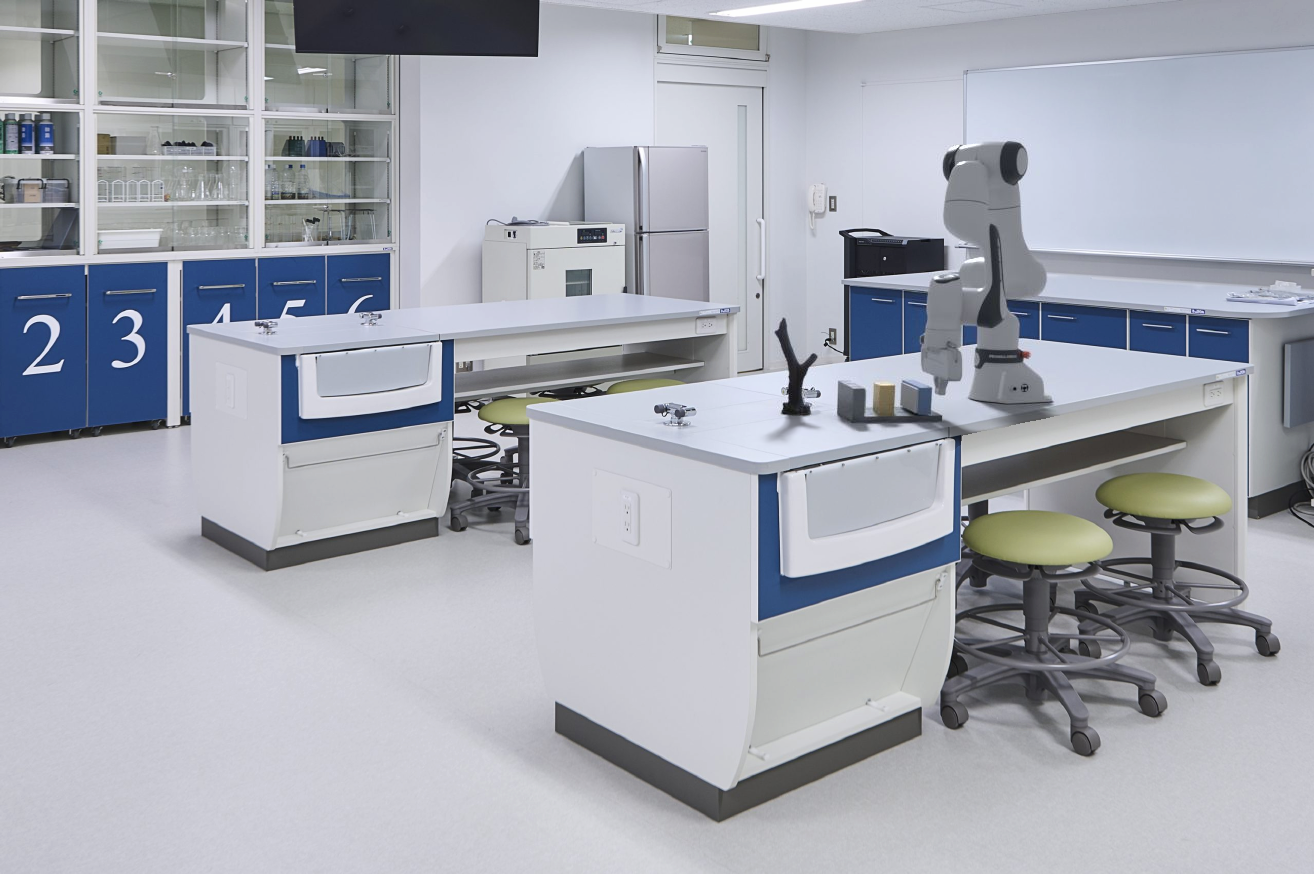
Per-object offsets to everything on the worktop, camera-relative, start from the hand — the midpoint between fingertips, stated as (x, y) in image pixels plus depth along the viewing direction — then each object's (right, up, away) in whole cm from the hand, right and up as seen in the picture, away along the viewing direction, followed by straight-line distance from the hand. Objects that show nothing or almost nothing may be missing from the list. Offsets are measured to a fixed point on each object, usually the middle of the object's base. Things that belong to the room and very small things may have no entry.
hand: (940, 394), depth 304 cm
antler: (-37, -5, +4) cm, 37 cm away
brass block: (-15, -4, -1) cm, 15 cm away
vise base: (-13, -6, 0) cm, 14 cm away
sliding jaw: (-7, -4, 0) cm, 8 cm away
